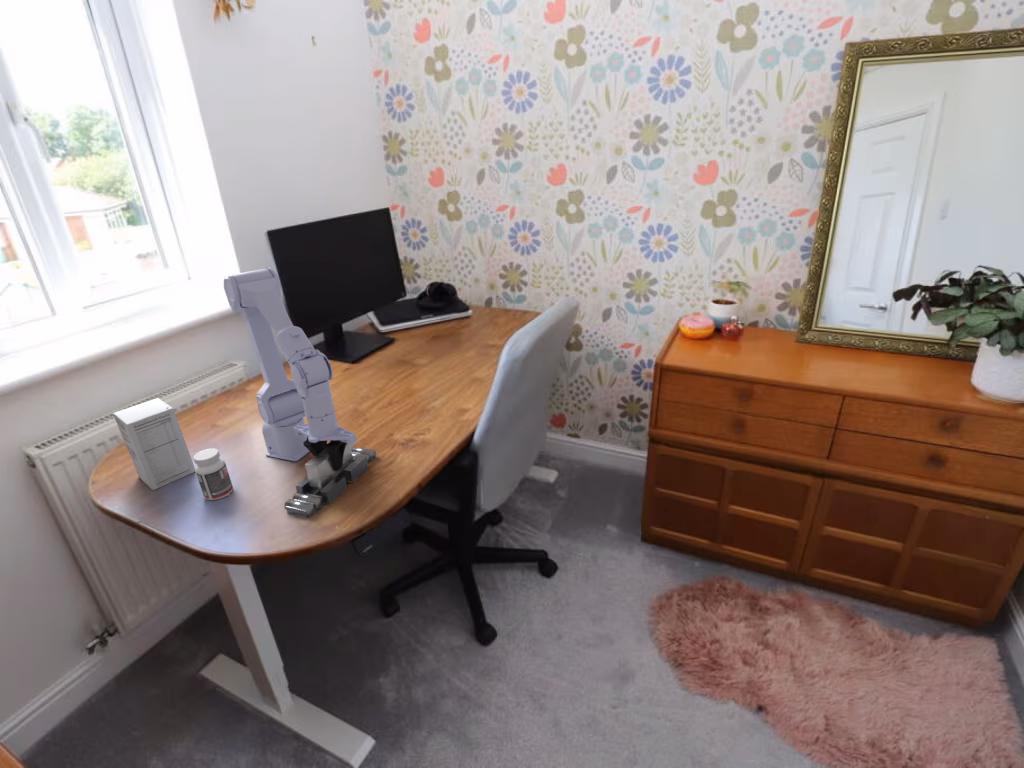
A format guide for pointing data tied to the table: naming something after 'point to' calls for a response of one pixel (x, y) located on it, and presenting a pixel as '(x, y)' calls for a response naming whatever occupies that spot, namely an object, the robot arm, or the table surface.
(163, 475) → the supplement box
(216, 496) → the pill bottle
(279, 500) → the table surface
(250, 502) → the table surface
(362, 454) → the chain end
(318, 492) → the chain end
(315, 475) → the pale grey rectangular prism
